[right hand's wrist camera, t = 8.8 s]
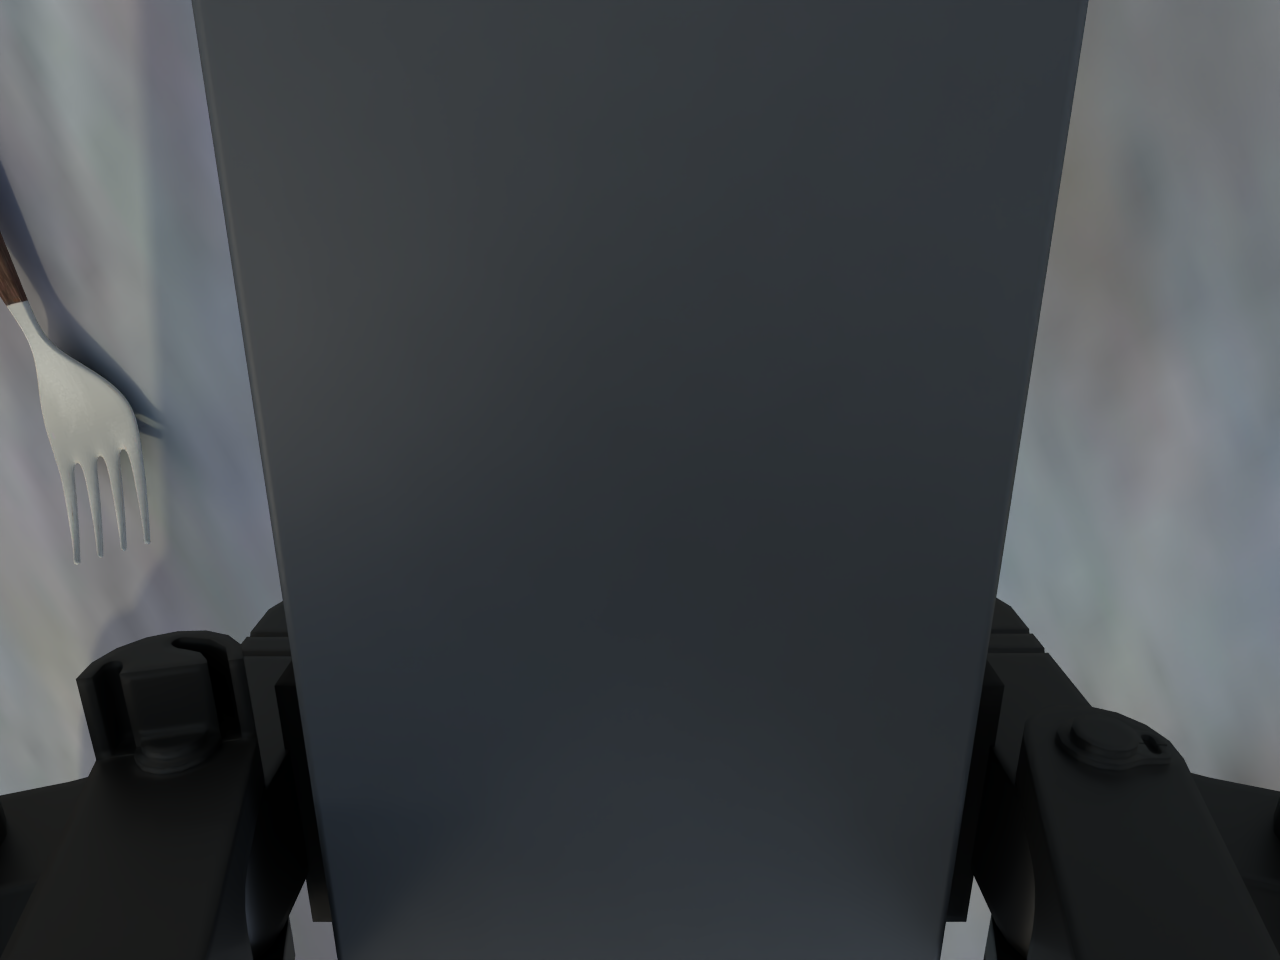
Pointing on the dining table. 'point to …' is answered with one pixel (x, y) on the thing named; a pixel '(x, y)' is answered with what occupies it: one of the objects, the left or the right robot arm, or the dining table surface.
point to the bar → (639, 448)
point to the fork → (79, 418)
